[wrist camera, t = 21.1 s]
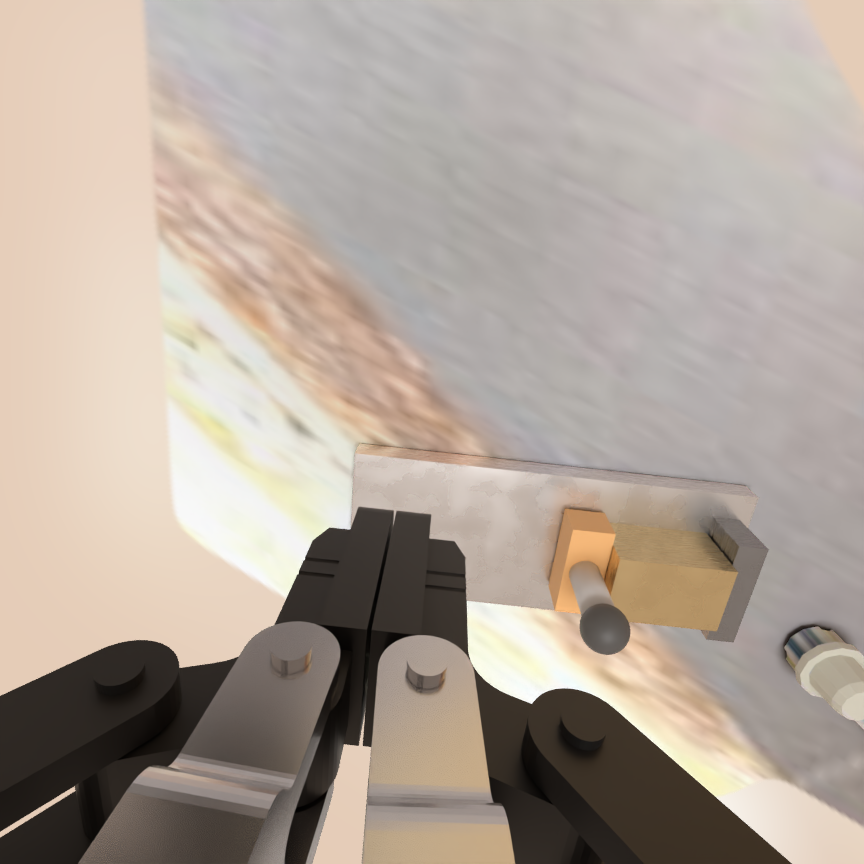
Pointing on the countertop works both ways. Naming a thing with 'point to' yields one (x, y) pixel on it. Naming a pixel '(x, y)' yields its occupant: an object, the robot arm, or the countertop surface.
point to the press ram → (588, 580)
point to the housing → (668, 577)
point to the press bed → (550, 516)
